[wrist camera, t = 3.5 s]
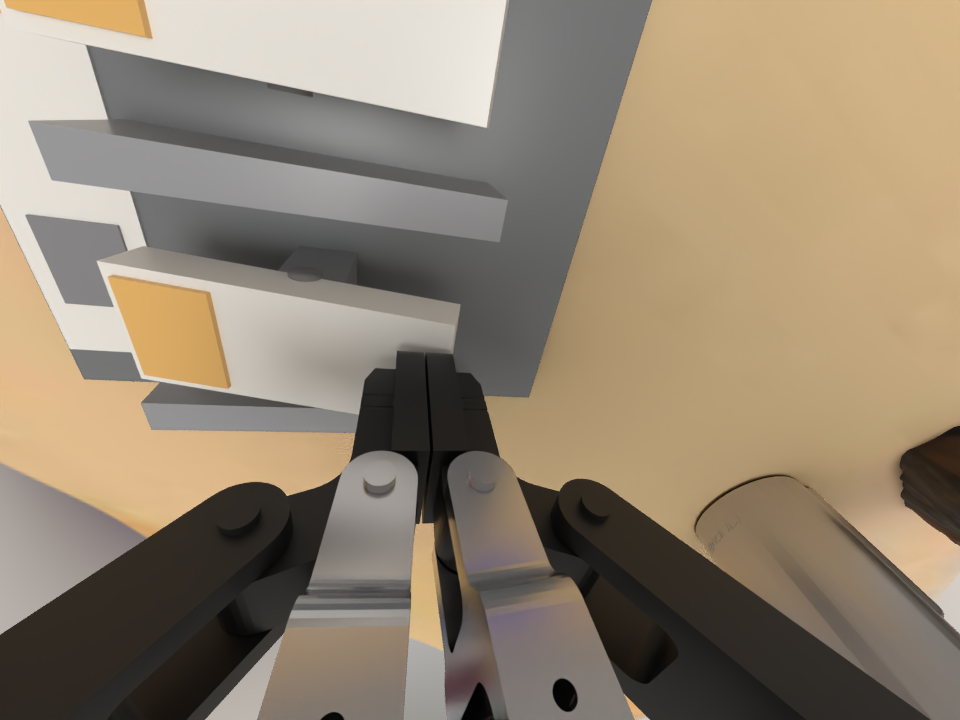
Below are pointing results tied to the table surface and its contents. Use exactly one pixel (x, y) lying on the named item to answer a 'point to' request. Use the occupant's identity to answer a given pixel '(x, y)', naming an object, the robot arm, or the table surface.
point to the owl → (935, 482)
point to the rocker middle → (304, 44)
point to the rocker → (266, 327)
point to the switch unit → (313, 191)
